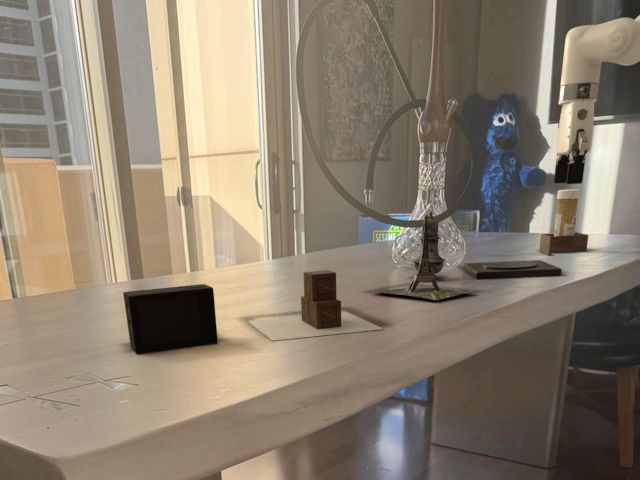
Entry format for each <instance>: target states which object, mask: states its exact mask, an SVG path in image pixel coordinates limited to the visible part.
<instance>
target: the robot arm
mask: <svg viewBox="0 0 640 480" xmlns="http://www.w3.org/2000/svg"><path fill="white" fill-rule="evenodd" d="M564 40H565V41H564V49H563V58H562V69H561V78H560V85H559V86H560V87H559V95H558V105H559V106H561V111H560V116H559V124H558V131H557V139H556V156H557V157H556V160H555V169H554V178H553V183H554V184H566V185H579V184H580V185H581V184H582V183H583V179H584V174H585V173H584V171H585V166H586V158H587V157H586V155H587V154H588V153H589V152H590V151H591V149H592V142H593V135H594V134H593V133H594V132H593V131H594V122H595V121H594V120H595V119H594V118H595V103H597V99H598V93H599V86H600V78H601V69H602V63H612V64H617V65H619V66H627V67H628V66H633V65H636V64H637V63H639V62H640V14H639V15H638V16H637V17H635V18H631V17H619V18H614V19H612V20H609V21H606V22H603V23H602V22H601V23H599V24H586V25H579V26H575V27H573V28H571V29H569V30H568V32H567V33H566V36H565V39H564Z"/></svg>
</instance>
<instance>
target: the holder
mask: <svg viewBox="0 0 640 480" xmlns="http://www.w3.org/2000/svg"><path fill="white" fill-rule="evenodd" d="M588 242H589V234H586V233H582V232H576V231H575V234H574V235H572V236H554V233H541V234H540V240H539V251H538V252H539V253H540V254H543V255H546V256H553V254H567V253H568V254H569V253H570V254H571V253H587V251H588Z"/></svg>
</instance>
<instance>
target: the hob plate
mask: <svg viewBox="0 0 640 480" xmlns="http://www.w3.org/2000/svg"><path fill="white" fill-rule="evenodd" d="M463 270H464V271H465V272H466V273H468V274H469V275H471V276H472V277H473V278H475V279H476V280H492V279H512V278H513V279H514V278H515V279H517V278H538V277H540V278H541V277H561V276H562V268H560V267H558V266H556V265H553V264H551V263H548V262H545V261H544V260H541V259H535V260H532V259H531V260H509V261H507V260H505V261H489V262H488V261H487V262H466V263H463Z"/></svg>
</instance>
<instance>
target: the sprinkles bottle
mask: <svg viewBox="0 0 640 480" xmlns="http://www.w3.org/2000/svg"><path fill="white" fill-rule="evenodd" d="M580 194H581V193H580V189H576V188H574V189H573V188H571V189H570V188H569V189H560V190H558V191H557V195H556V200H557V203H556V212H555V218H554V219H555V221H554V230H553V234H554V236H572V235H574V234H575V233H576V224H577V212H578V203H579V199H580Z"/></svg>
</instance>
